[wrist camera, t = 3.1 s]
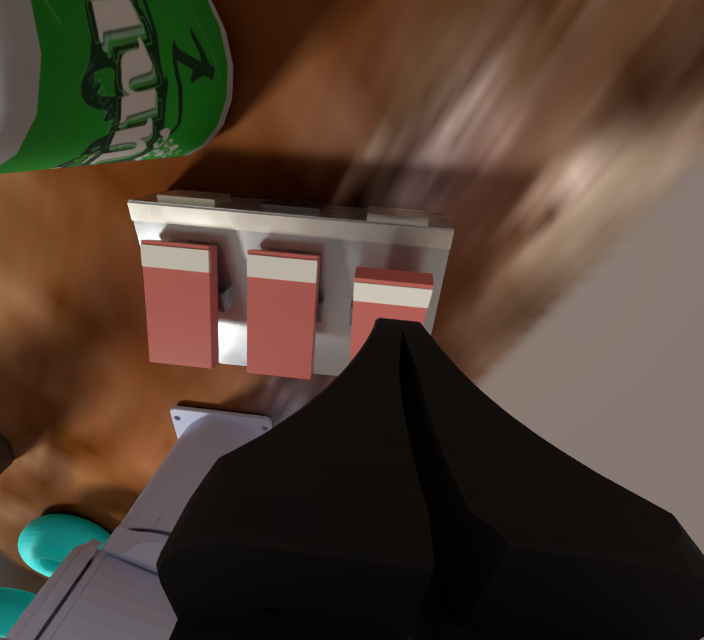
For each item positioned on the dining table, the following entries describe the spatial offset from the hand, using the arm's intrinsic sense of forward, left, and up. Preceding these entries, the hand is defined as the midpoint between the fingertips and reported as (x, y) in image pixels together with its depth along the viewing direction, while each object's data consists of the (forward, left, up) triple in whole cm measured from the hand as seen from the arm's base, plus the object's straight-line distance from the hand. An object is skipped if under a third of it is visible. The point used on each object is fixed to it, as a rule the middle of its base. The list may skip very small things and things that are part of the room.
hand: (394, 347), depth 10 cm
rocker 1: (-2, +10, -5) cm, 11 cm away
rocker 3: (-2, 0, -5) cm, 6 cm away
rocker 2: (-2, +5, -5) cm, 8 cm away
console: (-2, +5, -10) cm, 11 cm away
